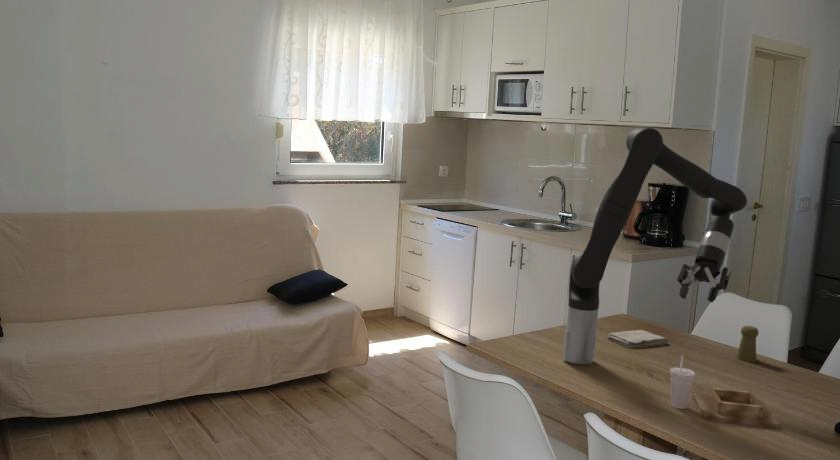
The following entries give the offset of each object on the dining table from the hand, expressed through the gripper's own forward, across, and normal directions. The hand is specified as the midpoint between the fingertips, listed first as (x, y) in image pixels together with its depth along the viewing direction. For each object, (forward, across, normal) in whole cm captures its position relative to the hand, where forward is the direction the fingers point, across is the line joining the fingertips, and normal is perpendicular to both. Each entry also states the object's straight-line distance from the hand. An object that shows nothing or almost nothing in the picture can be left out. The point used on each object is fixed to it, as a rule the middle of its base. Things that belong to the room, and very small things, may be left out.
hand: (696, 299), depth 208 cm
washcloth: (+6, -36, +32) cm, 48 cm away
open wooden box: (+28, +16, +8) cm, 33 cm away
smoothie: (+32, +5, 0) cm, 32 cm away
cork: (-1, -5, +47) cm, 47 cm away
